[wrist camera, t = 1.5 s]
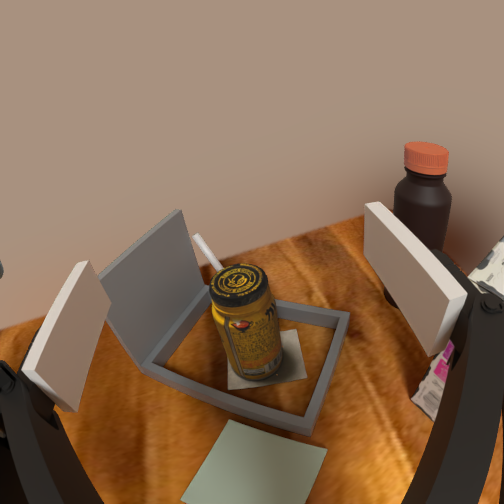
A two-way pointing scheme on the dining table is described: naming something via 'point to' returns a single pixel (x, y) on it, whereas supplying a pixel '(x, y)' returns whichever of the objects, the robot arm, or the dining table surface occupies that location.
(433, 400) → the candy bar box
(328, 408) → the dining table surface
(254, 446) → the pad
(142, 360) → the grey holder frame
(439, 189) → the bottle
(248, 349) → the condiment
